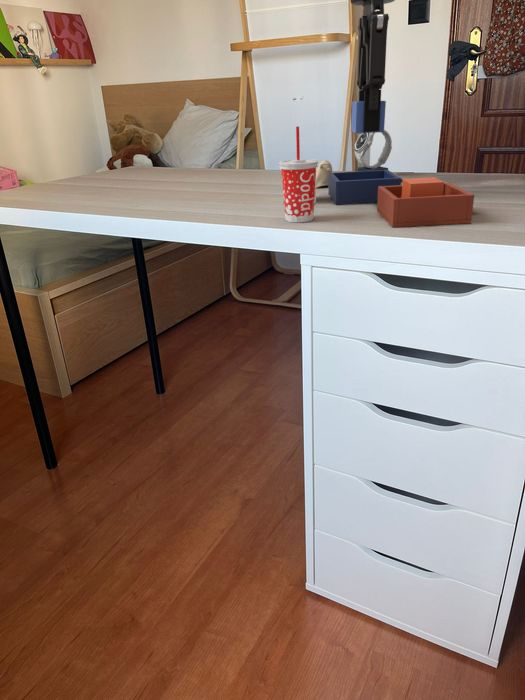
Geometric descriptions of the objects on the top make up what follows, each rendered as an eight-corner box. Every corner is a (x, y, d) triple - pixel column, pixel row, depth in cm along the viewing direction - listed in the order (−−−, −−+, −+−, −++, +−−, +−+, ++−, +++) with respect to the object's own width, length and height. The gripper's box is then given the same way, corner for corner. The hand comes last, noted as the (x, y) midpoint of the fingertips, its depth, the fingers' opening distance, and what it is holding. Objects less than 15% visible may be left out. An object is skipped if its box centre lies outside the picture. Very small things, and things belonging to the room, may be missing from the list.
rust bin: (446, 207, 88) (448, 182, 86) (471, 223, 78) (474, 194, 76) (376, 211, 88) (378, 186, 87) (392, 227, 78) (393, 199, 76)
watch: (349, 182, 117) (350, 129, 112) (381, 179, 119) (383, 126, 114) (361, 186, 112) (363, 130, 107) (394, 182, 114) (397, 127, 109)
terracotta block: (431, 209, 85) (434, 177, 83) (441, 215, 80) (444, 181, 78) (400, 211, 85) (402, 178, 83) (408, 217, 81) (410, 183, 78)
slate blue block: (378, 130, 97) (380, 100, 95) (384, 132, 93) (385, 100, 90) (351, 131, 97) (352, 101, 95) (355, 133, 93) (356, 102, 90)
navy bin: (386, 190, 105) (387, 169, 104) (400, 201, 95) (401, 178, 93) (328, 194, 106) (328, 172, 104) (335, 205, 95) (335, 181, 93)
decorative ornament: (331, 182, 118) (331, 157, 116) (333, 188, 111) (333, 162, 108) (313, 183, 119) (313, 158, 116) (313, 189, 111) (313, 163, 109)
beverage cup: (284, 224, 83) (281, 129, 77) (277, 217, 88) (274, 126, 82) (322, 221, 84) (322, 126, 78) (312, 214, 89) (312, 124, 83)
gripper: (343, -15, 93) (340, 128, 103) (360, -38, 77) (355, 134, 87) (385, -18, 93) (379, 126, 103) (412, -41, 76) (401, 132, 87)
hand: (368, 129), depth 95 cm, fingers closed on slate blue block, 5 cm apart
